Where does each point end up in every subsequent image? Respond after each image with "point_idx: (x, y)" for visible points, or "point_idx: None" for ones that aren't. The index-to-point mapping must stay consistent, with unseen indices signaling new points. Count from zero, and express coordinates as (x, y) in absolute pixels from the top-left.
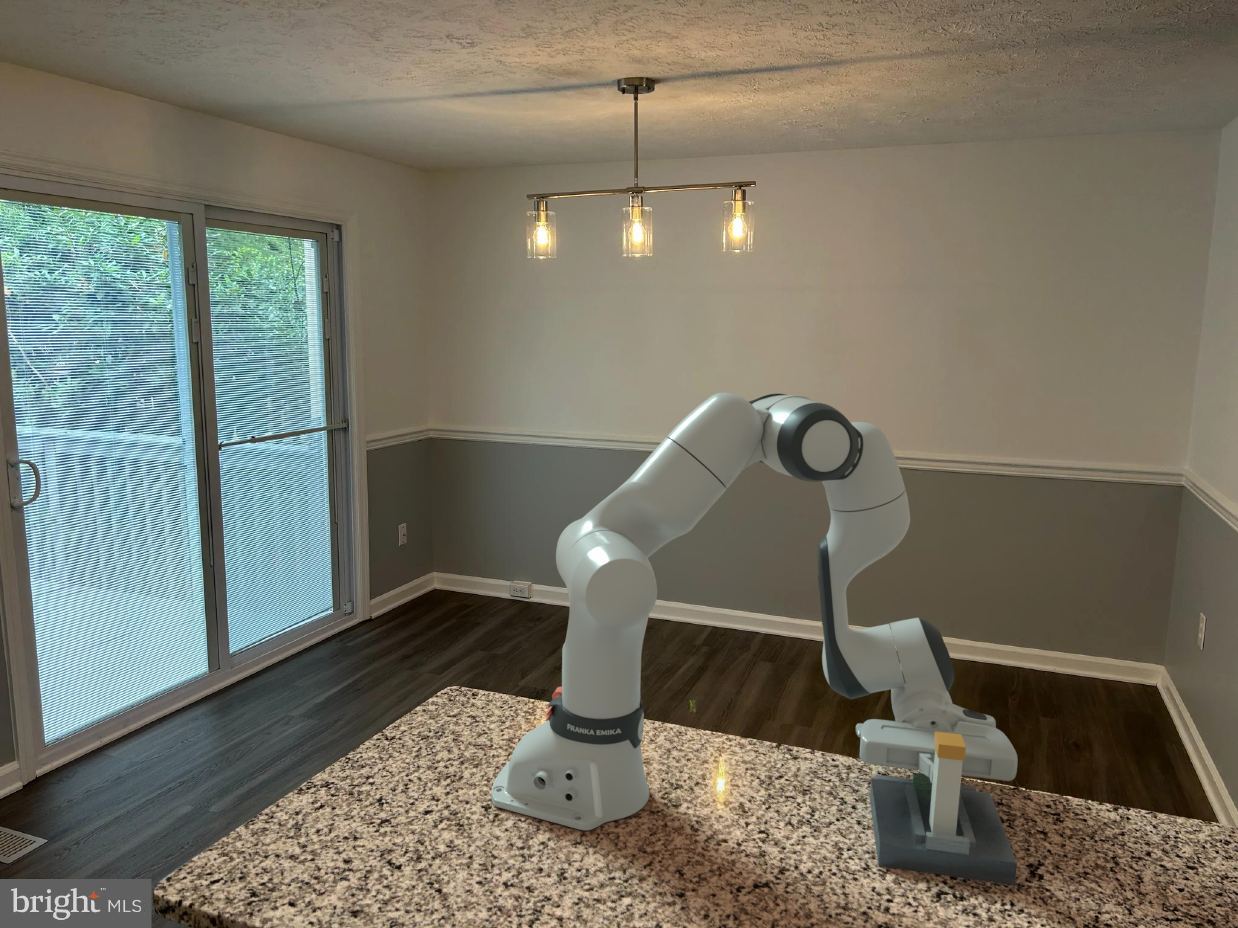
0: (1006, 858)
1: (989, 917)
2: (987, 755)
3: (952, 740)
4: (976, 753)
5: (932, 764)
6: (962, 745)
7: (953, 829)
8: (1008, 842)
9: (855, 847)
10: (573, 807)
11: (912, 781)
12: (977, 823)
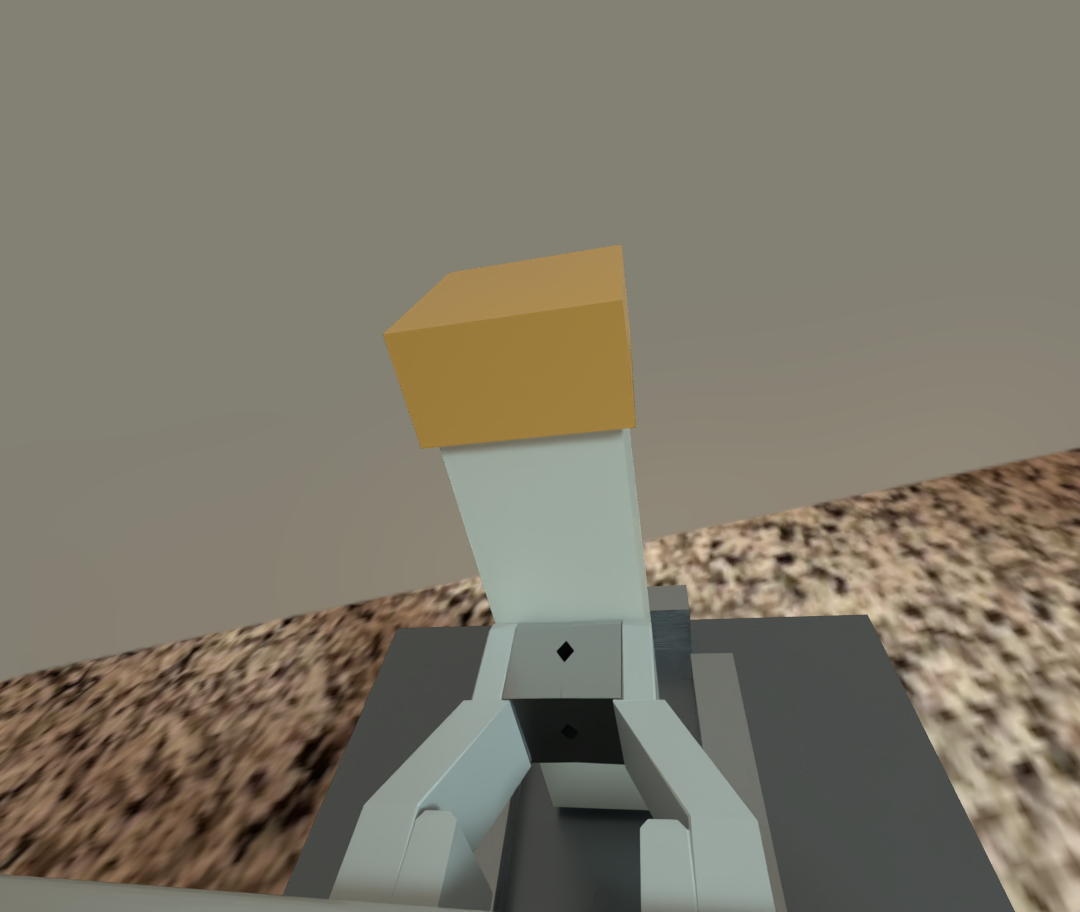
0: (418, 642)
1: None
2: (39, 887)
3: (507, 280)
4: (126, 895)
5: (637, 706)
6: (463, 275)
7: None
8: (354, 735)
9: (1003, 791)
10: None
11: None
12: None
